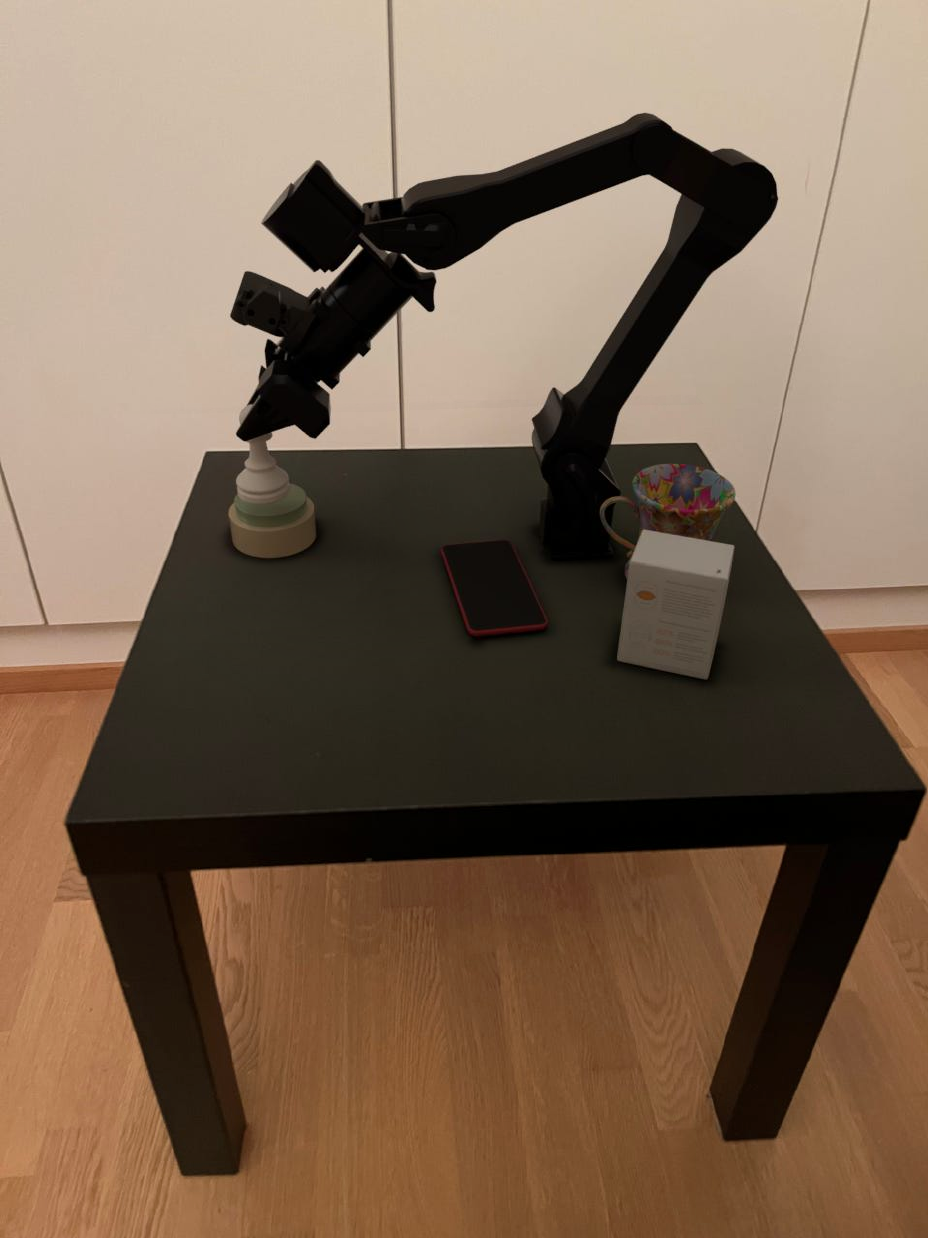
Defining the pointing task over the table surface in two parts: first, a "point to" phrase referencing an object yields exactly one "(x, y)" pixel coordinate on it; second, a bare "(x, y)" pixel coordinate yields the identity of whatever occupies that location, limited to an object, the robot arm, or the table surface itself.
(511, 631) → the smartphone
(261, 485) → the chess pawn
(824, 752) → the table surface
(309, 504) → the push button
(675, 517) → the mug
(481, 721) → the table surface
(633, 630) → the small box
